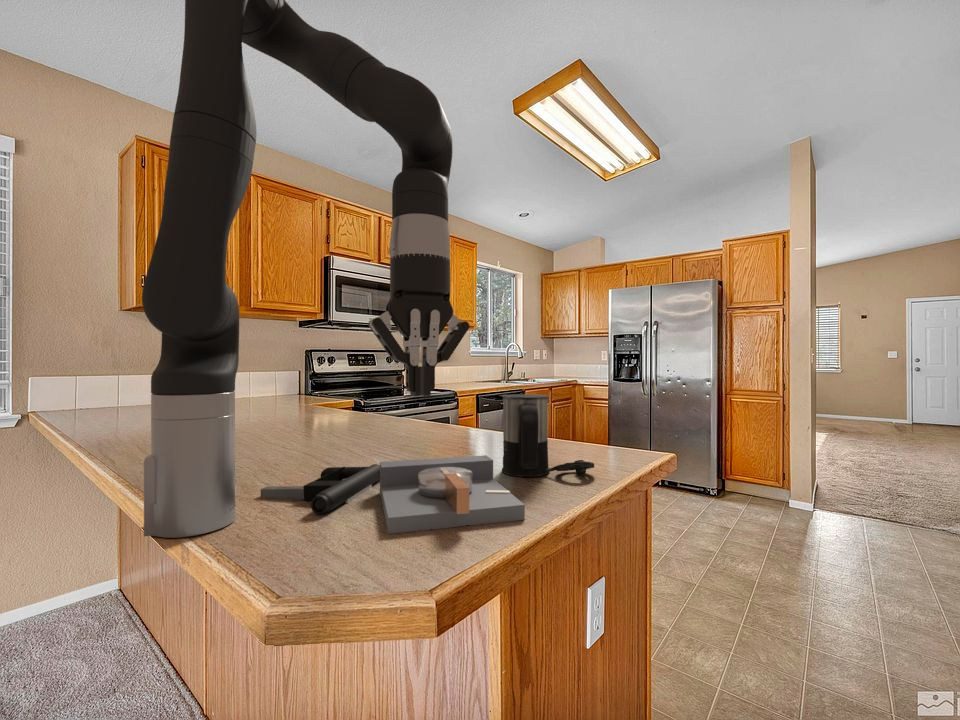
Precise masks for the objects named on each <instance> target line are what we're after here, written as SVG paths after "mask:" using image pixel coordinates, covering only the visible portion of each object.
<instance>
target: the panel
mask: <svg viewBox="0 0 960 720" xmlns="http://www.w3.org/2000/svg"><path fill="white" fill-rule="evenodd" d="M379 465H380V480H379V497H380V500H381V506H382V505H383V506H382V510H384V511H383V514H385V515H384V519H385V524H386V529H387V534H388V535H390V534H401V533H403V534H404V533H411V532H421V531H430V530H431V529H432V530H438V529H440V530H441V529H450V528H459V526H460V527H467V526H466V525H470V526H476V525H487V524H496V523H497V524H498V523H506V522H515V521H524V520H525V517H526V515H525V514H526V513H525V512H526V511H525V509H526V507H525V506H526V505H525V504H524V503H523V502H522V501H521V500H520V499H518V498H517V497H516V496H515V495H514V494H512V493H511V491H510V490H508V489H506V488H505V487H504V486H503V485H502V484H500V483H499V482H498V481H497V480H496V479H495V478H494V459H492V458H491V457H489V456H488V455H487V454H486V455H485V454H484V455H469V456H454V457H439V458H438V457H436V458H423V459H405V460H391V461H389V460H387V461H379ZM436 467H459V468H465V469H468V470H470V471H472V491H471V492H470V493H469V513H466V514H456V512H455V511H454V510H453V508H452V507H451V505H450V504H449V502H448V501H447V499H446V498H437V497H429V496H425V495H422V494H420V493H419V492H418V473H419V472H420V471H422V470H425V469H429V468H436ZM420 530H421V531H420ZM432 530H431V531H432Z"/></svg>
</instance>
